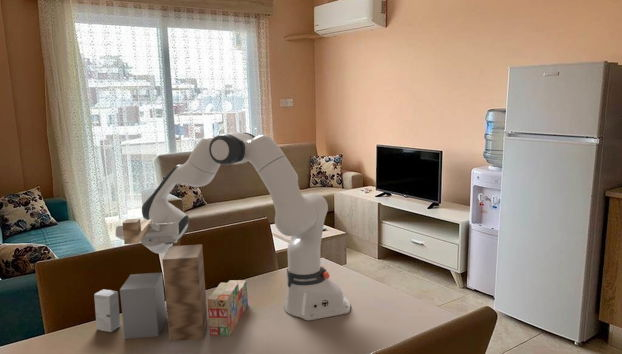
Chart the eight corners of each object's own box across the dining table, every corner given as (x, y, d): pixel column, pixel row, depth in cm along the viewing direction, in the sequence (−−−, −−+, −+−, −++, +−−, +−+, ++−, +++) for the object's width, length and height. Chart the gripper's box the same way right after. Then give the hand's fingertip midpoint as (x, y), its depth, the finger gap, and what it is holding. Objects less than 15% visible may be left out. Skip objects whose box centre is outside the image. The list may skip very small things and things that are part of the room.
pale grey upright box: (166, 317, 149) (162, 272, 147) (158, 336, 138) (154, 287, 135) (135, 320, 148) (130, 274, 145) (124, 338, 136) (119, 289, 134)
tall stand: (207, 319, 147) (202, 244, 143) (203, 338, 135) (197, 257, 131) (176, 322, 146) (170, 246, 141) (169, 341, 134) (162, 259, 130)
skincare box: (96, 330, 142) (92, 294, 140) (106, 323, 146) (102, 288, 144) (112, 332, 140) (108, 296, 138) (121, 325, 144) (118, 290, 142)
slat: (152, 226, 149) (150, 207, 148) (138, 243, 131) (136, 222, 130) (140, 227, 148) (138, 208, 147) (124, 244, 131) (122, 222, 129)
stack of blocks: (231, 304, 158) (229, 271, 156) (248, 305, 157) (246, 272, 155) (209, 335, 137) (206, 298, 135) (229, 336, 136) (226, 299, 134)
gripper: (122, 228, 157) (109, 217, 144) (182, 224, 159) (174, 214, 146) (121, 245, 155) (108, 237, 142) (181, 242, 157) (174, 233, 144)
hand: (142, 225), depth 144 cm, fingers closed on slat, 4 cm apart
